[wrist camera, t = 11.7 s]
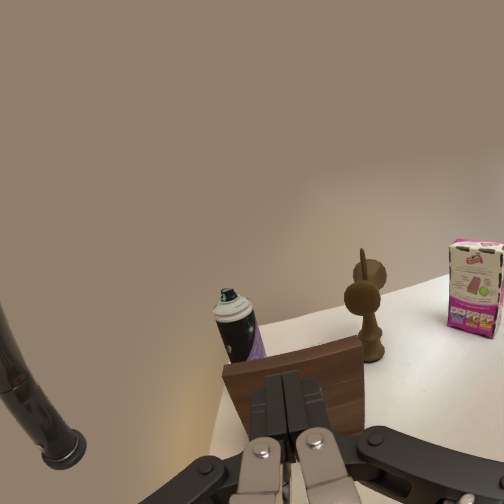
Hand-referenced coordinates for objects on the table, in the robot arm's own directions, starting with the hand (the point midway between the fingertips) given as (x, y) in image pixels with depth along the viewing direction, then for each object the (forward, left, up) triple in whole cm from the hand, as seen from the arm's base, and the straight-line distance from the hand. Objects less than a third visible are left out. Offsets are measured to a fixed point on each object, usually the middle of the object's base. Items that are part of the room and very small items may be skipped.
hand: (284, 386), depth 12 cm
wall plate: (-9, +12, -24) cm, 28 cm away
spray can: (-21, +15, -24) cm, 36 cm away
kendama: (-8, +31, -24) cm, 40 cm away
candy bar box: (+11, +42, -24) cm, 50 cm away
